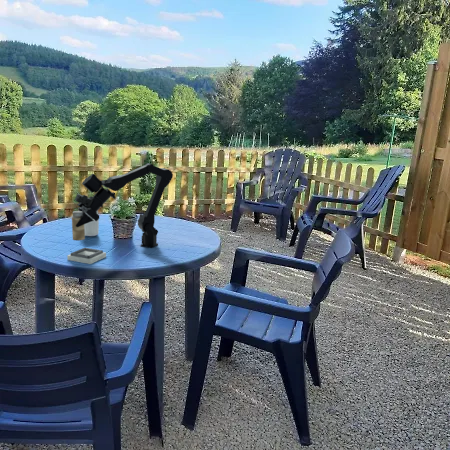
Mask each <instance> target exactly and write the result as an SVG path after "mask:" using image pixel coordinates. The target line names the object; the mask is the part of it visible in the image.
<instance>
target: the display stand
mask: <svg viewBox="0 0 450 450" xmlns="http://www.w3.org/2000/svg"><path fill="white" fill-rule="evenodd" d="M66 257H67V261H71V262H78V263H82V264H88V265H91V264H94V263H96V262H99V261H100V260H102V259H105V258H107V252H106V251H104V250H101V249H96V248H95V249H94V248H90V247H83V248H81V249H78V250H75V251H73V252H71V253H70V254H68V255H66Z"/></svg>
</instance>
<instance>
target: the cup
mask: <svg viewBox="0 0 450 450" xmlns="http://www.w3.org/2000/svg"><path fill="white" fill-rule="evenodd" d="M97 214H98V215H99V210H98V211H97ZM99 219H100V218H99ZM99 219H98V220H97V222H96V221H95V220H94V219H93V220H94V221H91V222H89V223H86V224H84V229H85V237H86V236H87V237H95V236H97V235H99V231H100V230H99V229H100V227H99V226H100V225H99V224H100V222H99Z"/></svg>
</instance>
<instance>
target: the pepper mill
mask: <svg viewBox="0 0 450 450" xmlns="http://www.w3.org/2000/svg"><path fill="white" fill-rule="evenodd" d="M81 217H82V211H78V210H75V211H72V217H71V230H72V240H73V241H78V242H79V241H84V240H86V236H85V229H84V225H82V226H79V227H76V224H77V223H78V221H79V220H80V218H81Z"/></svg>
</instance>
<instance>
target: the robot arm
mask: <svg viewBox="0 0 450 450" xmlns="http://www.w3.org/2000/svg"><path fill="white" fill-rule="evenodd" d="M150 173H151V174H153V175H154V176H155V185H154V188H153V191H152V193H151V197H150V198H149V201H148V204H147V207H146V210H145V212H144V213H143V214H142V213H139V218H138V220H137V226H138V228H139V229H140V230H141V232H142V233H141V234H142V235H141V244H140V247H146V248H151V249H152V248H155V247H156V246H158V245H159V243H158V241H157V236H158V233H159V230H158V229H156V228H155V227H154V226H155V220H156V219H155V217H156V216H155V215H156V213H157V210H158V207H159V204H160V203H161V202H160V201H161V199H162V196H163V194H164V191H165V189H166V187H167V186H168V185H169V184H171V181H172V179H173V177H174V176H173V175H174V174H173V171H171V170H170V169H167V168H165V167H158V166H156V165H154V164H152V163H145V164H144V165H142V166H140V167H138V168H136V169H133V170H131V171H129V172H126V173H123V174H119V175H113V176H110V177H108V178H107V179H104V180H100V179H99V178H98V177H97V175H96V174H95V173H92V174H91V175H89V176H87V177H85V178H84V179H83V180H82V183H81V184H82V186H84V188H85V189H87V190H88V191H89V192H90V193H95V194H94V195H93V196H92V195H91V196H89V197H88V196H87V195H86V194H83V195H82V194H80V193H77V194H76V195H75V198H74V201H75V203H76V202H77V206H78V207H77V209H78V210H77V211H82V217H81V218H80V220H79V221H78V223H77V224H76V227H79V226H82V225H84V224H86V223H89V222H91V221H94V220H95V221H96V222H97V220H98V219H100V215H99V213H98V214H97V211H98V212H99V209H100V208H103V207H104V204H106V202H107V201H108V200H110V198H112V199H113V200H116V193H115V192H117V191H120V190H121V189H122V188H124V187H126V186H127V184H129V183H130V182H133V181H135V180H137V179H140V178H141V177H144V176H146V175H148V174H150ZM104 187H105V188H104ZM112 191H113V192H112ZM93 219H94V220H93Z"/></svg>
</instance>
